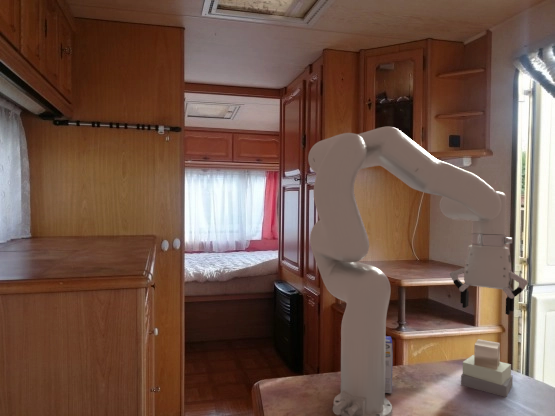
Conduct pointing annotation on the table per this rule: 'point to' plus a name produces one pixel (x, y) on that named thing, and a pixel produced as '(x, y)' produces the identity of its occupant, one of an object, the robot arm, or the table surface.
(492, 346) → the birch cube
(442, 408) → the table surface
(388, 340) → the ink cartridge box
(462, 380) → the tower base block
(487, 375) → the tower top block
